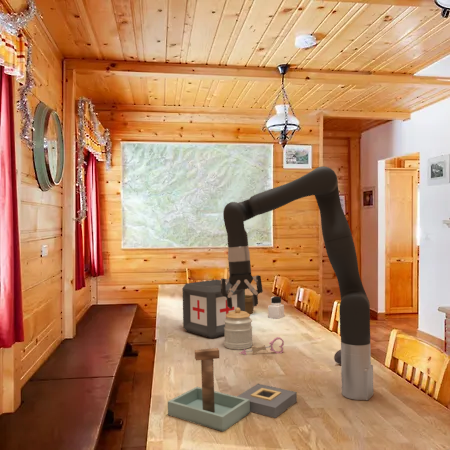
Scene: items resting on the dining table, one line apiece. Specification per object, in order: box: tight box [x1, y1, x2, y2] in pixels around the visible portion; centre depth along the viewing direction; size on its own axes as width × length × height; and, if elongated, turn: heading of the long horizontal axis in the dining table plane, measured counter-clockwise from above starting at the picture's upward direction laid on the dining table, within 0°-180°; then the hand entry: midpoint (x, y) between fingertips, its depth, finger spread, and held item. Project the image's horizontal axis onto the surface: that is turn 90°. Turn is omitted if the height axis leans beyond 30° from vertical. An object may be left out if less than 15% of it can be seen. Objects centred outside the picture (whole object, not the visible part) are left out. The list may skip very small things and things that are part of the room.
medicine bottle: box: [267, 296, 285, 320], centre depth 264 cm, size 7×7×12 cm
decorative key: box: [238, 337, 285, 356], centre depth 193 cm, size 7×1×20 cm
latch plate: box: [236, 383, 298, 419], centre depth 139 cm, size 14×14×3 cm
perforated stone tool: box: [333, 349, 341, 365], centre depth 177 cm, size 15×5×7 cm, turn 102°
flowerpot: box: [245, 294, 255, 316], centre depth 276 cm, size 14×14×30 cm
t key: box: [194, 347, 220, 413], centre depth 134 cm, size 7×4×18 cm, turn 102°
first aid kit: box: [182, 279, 246, 339], centre depth 234 cm, size 25×25×25 cm
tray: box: [167, 386, 251, 433], centre depth 133 cm, size 20×14×4 cm
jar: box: [223, 307, 254, 351], centre depth 205 cm, size 13×13×18 cm
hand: (242, 307), depth 154 cm, fingers open, 8 cm apart
